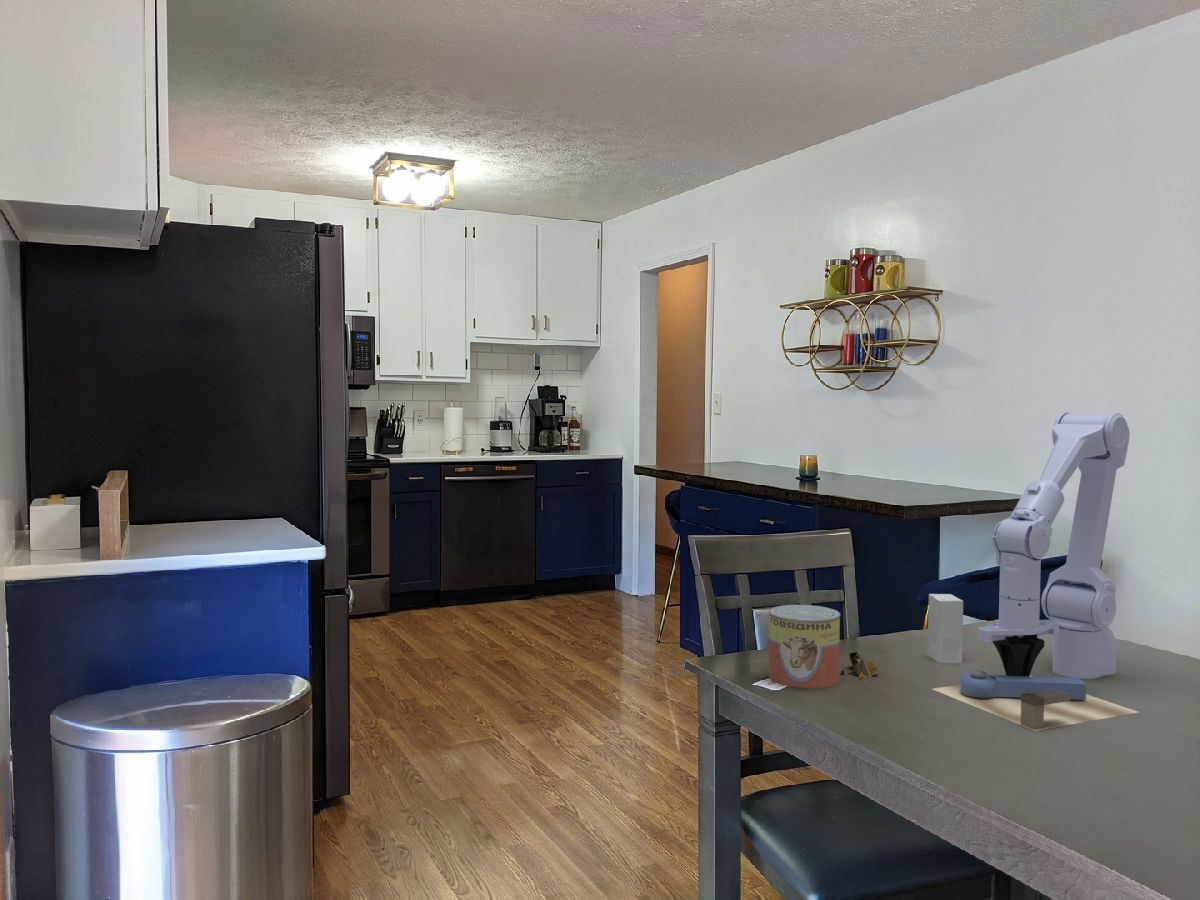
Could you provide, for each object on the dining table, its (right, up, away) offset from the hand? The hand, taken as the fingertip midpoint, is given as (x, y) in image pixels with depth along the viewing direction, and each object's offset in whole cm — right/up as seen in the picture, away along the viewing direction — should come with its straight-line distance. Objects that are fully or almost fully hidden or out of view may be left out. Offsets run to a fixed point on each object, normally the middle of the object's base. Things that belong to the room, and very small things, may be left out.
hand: (1017, 683), depth 144 cm
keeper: (-3, -3, -15) cm, 16 cm away
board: (0, -2, -5) cm, 5 cm away
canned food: (-32, -2, +7) cm, 32 cm away
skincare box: (-4, -2, +18) cm, 19 cm away
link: (-1, -1, -3) cm, 3 cm away
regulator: (-22, -2, +7) cm, 24 cm away
